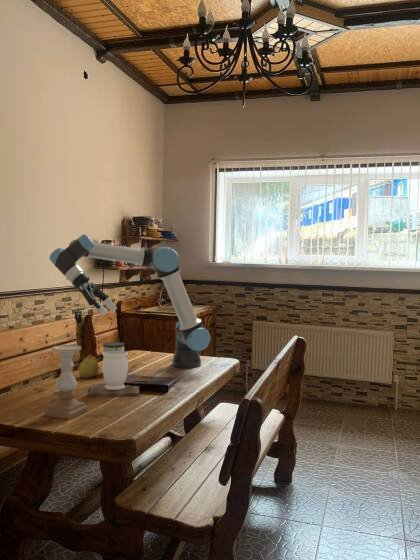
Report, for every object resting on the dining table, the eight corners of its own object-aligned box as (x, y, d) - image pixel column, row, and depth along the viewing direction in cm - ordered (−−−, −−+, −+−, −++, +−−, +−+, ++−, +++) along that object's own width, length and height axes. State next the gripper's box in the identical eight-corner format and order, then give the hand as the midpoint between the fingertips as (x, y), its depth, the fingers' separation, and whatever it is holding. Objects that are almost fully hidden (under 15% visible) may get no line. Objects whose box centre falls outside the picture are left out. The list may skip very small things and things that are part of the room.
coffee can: (106, 369, 245) (106, 341, 245) (126, 370, 244) (127, 342, 244) (99, 374, 235) (100, 345, 235) (121, 375, 234) (121, 345, 234)
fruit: (74, 378, 227) (74, 352, 226) (87, 374, 235) (87, 349, 235) (89, 380, 223) (89, 354, 223) (102, 376, 232) (102, 350, 231)
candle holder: (64, 407, 184) (64, 343, 183) (88, 411, 179) (88, 345, 178) (43, 415, 174) (43, 348, 172) (68, 420, 169) (69, 351, 168)
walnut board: (138, 385, 216) (138, 382, 216) (139, 395, 200) (139, 392, 200) (92, 386, 213) (92, 383, 213) (88, 396, 197) (88, 394, 197)
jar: (132, 386, 210) (132, 351, 209) (120, 392, 200) (120, 355, 200) (110, 383, 213) (110, 349, 213) (97, 389, 204) (97, 353, 203)
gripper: (82, 281, 233) (113, 314, 232) (60, 284, 208) (94, 321, 207) (93, 270, 232) (124, 303, 231) (72, 272, 207) (107, 308, 206)
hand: (110, 311), depth 219 cm, fingers open, 13 cm apart
